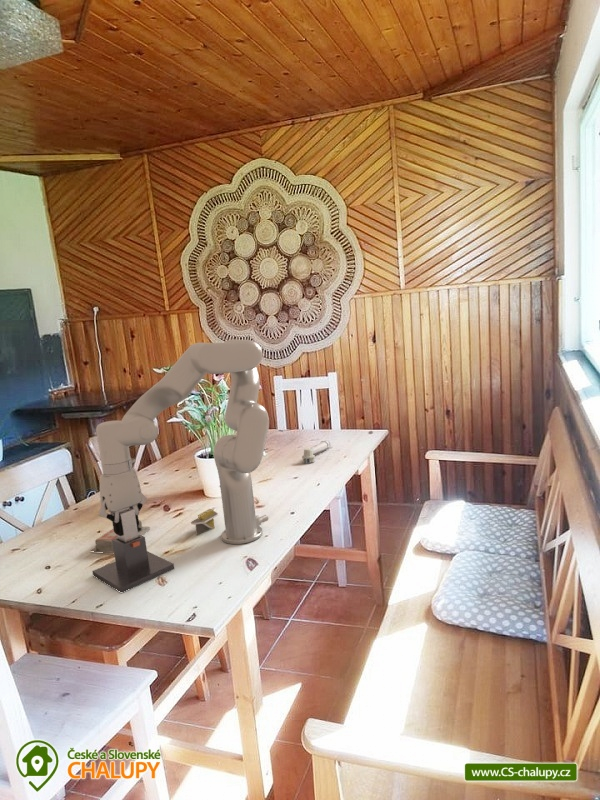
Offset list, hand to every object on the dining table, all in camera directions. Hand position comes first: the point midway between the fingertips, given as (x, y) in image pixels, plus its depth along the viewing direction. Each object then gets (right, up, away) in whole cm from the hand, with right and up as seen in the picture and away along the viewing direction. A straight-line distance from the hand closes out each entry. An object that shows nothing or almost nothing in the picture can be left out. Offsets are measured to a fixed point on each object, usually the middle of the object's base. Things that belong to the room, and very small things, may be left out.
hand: (127, 531), depth 157 cm
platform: (+18, -7, +26) cm, 33 cm away
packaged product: (-9, -9, +25) cm, 28 cm away
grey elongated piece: (+55, +10, +99) cm, 114 cm away
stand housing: (+1, -12, +2) cm, 12 cm away
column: (+1, -10, +2) cm, 10 cm away
